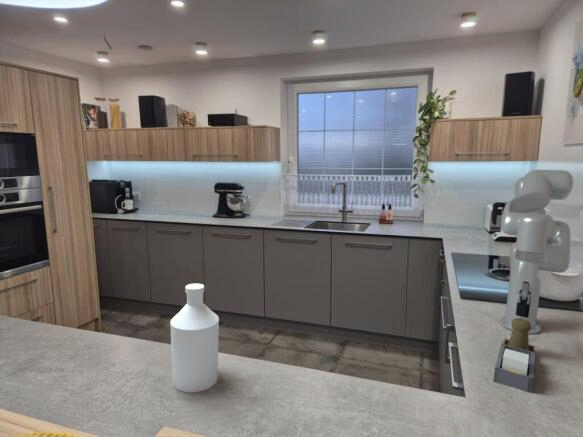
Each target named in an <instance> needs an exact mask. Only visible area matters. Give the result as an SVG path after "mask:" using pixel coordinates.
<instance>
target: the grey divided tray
mask: <svg viewBox="0 0 583 437" xmlns="http://www.w3.org/2000/svg"><path fill="white" fill-rule="evenodd" d="M505 349H509V350H513V351H517V352H520V353H524V354H528V355H529V359H528V368H527V376H526V375H523V374H521V373H518V372H515V371H511V370H508V369H507V370H506V369H502V363H503V356H504V352H505ZM535 361H536V351H534V352H533V351H529V350H525V349H521V348H517V347H513V346H509V345H505V344H503V343H501V345H500V348H499V351H498V355H497V359H496V363H495V368H494V373H493V382H495V383H498V384H501V385H504V386H508V387H510V388H514V389H517V390H520V391H523V392H527V393H531V394H532V392H533V384H534V378H535V377H534V376H535V375H534V374H535Z"/></svg>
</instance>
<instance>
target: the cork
mask: <svg viewBox="0 0 583 437" xmlns="http://www.w3.org/2000/svg"><path fill="white" fill-rule="evenodd" d="M511 326H512V328H513V330H511V334H510V338H509V339H508V340H509V344H508V345H509V346H513V347H517V348H521V349H525V350H529V345H530V344H529V343H530V342H529V339H530V338H529V334H528V332H529V331H530V329H531V324H530V322H529V321H527V320H525V319H520V318H515V319H513V320H512V322H511Z"/></svg>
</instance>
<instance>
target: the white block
mask: <svg viewBox="0 0 583 437" xmlns="http://www.w3.org/2000/svg"><path fill="white" fill-rule="evenodd" d="M528 359H529V355H528V354H524V353H520V352H517V351H513V350H509V349H505V352H504V356H503V363H502V369H506V370H507V369H508V370H511V371H515V372H518V373H521V374H523V375H526V376H527V368H528Z"/></svg>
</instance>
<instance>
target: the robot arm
mask: <svg viewBox="0 0 583 437" xmlns="http://www.w3.org/2000/svg"><path fill="white" fill-rule="evenodd" d="M573 188H574V178H573V175H572V174H571V172H570V171H568V170H561V169H534V170H530V171H528V172H527V173H526V174H525V175H524V176H522V177H520V178H518V179H517V180H516V182H515V184H514V197H513V198H512V199H510V200H509V201H508V202H507V203H506V205H505V206H504V209H503V211H502V212H503V213H502V217H501V223H500V224H501V226H500V227H501V230H502V232H503V233H504V234H506V235H510V236H516V242H513V244H512V245H511V246H510V247H509V248H510V250H509V260H510V261H509V263H510V264H509V265H510V266H509V267H510V268H509V269H510V271H509V280H508V281H509V282H508V292H507V297H506V305H505V306H506V307H505V308H506V309H505V315H504V316H503V317H501V318H500V319H499V324H500V325H501V326H503V327H504V328H506V329H508V330H511V331H512V330H513V328H512V326H511V322H512V320H513V319H515V318H520V319H525V320H527V321H529V322H530V324H531V329H530V331H529V332H528V335H529V334H531V335H533V334H538V333H540V332H541V327H540V325H539V324H537V315H538V308H539V302H540V300H539V299H540V294H541V286H542V284H541V283H542V282H541V280H540V278H539V276H538V274H539V273H538V272H539V271H543V272H549V273H550V272H551V273H559V274H560V273H565V272H566V271H567V270H568V269H569V267H570V262H571V260H570V259H571V229H570V226H569V224H568V223H566V222H565V221H562V220H561V221H560V220H554V218H553V217H552V216H551V215H549V214H547V212H546V209H545V208H547V207H548V206H549V205H550V203H551V200H557V201H559V200H561V201H562V200H566V199H567V198H568V197H569V195H570V194H571V192H572V190H573Z"/></svg>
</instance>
